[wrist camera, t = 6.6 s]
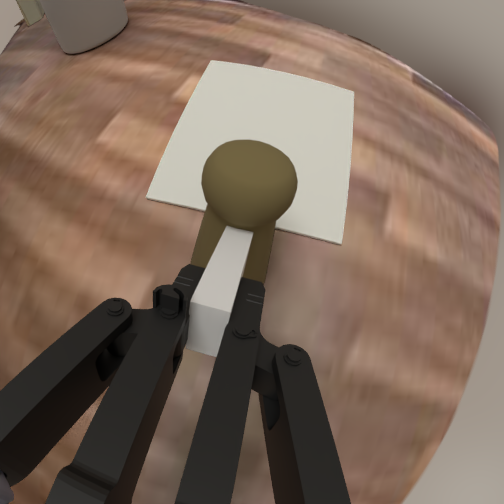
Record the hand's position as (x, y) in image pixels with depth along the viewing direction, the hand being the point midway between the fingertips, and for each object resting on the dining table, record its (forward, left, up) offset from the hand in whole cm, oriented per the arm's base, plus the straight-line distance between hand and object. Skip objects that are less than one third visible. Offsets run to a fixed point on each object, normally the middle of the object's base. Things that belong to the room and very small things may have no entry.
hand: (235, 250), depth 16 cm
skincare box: (-81, -13, -8) cm, 83 cm away
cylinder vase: (-47, -1, -8) cm, 48 cm away
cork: (0, -1, -7) cm, 7 cm away
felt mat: (-11, +10, -8) cm, 17 cm away
